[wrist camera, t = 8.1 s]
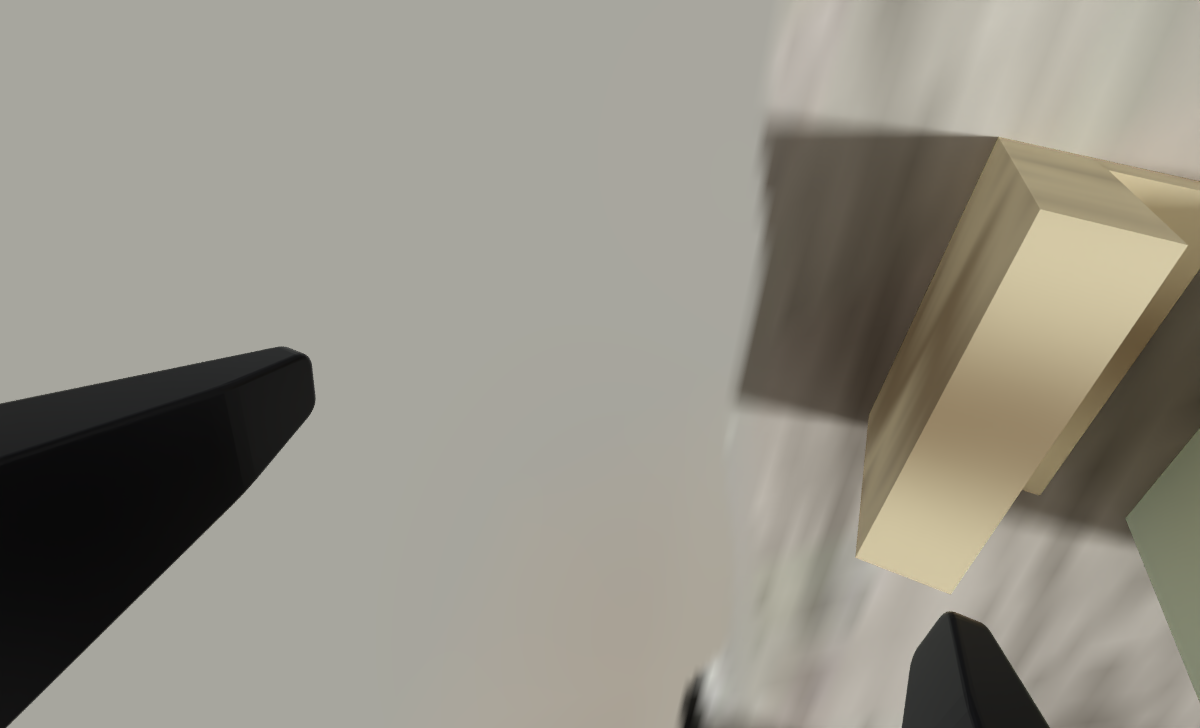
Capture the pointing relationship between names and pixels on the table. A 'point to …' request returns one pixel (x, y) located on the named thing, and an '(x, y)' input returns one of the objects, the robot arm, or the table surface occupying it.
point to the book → (1175, 549)
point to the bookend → (1017, 347)
